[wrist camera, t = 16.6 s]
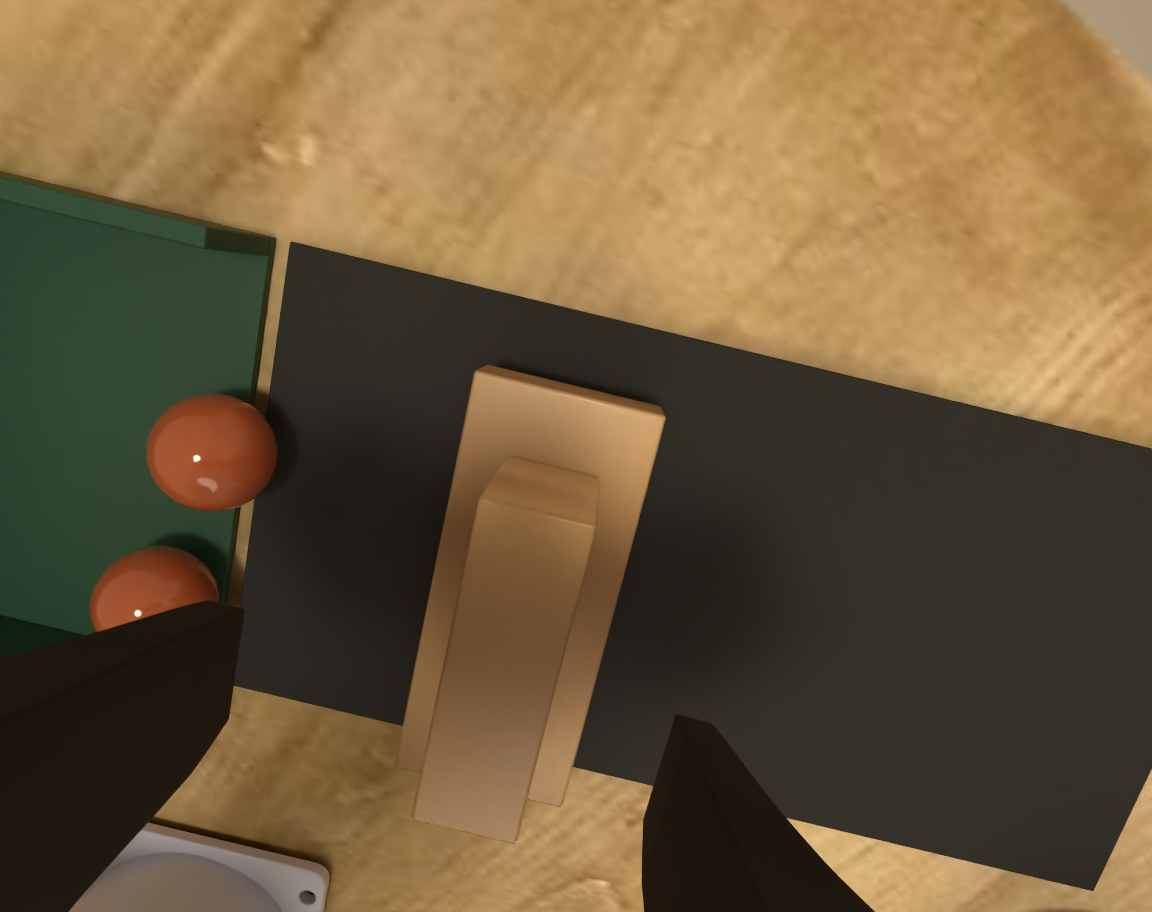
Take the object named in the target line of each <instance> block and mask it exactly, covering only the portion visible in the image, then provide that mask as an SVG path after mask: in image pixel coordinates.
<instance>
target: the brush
mask: <svg viewBox="0 0 1152 912" xmlns="http://www.w3.org/2000/svg"><path fill="white" fill-rule="evenodd" d="M665 420H666V418H665V415H664V413H663V410H662V408H661V407H660V406H657V405H653V404H649V403H645V402H641V401H636V400H632V399H628V398H624V397H620V396H616V395H612V394H607V393H603V392H599V391H595V390H591V389H587V388H582V387H578V386H574V385H570V384H566V383H562V382H558V381H553V380H549V379H545V378H541V377H537V376H533V375H528V374H524V373H520V372H516V371H512V370H508V369H503V368H499V367H495V366H491V365H485V366H484V367H482V368H480V369H478V370H476V371H475V372H474V376H473V381H472V386H471V391H470V395H469V400H468V405H467V410H466V415H465V420H464V425H463V430H462V435H461V440H460V445H459V450H458V455H457V460H456V465H455V470H454V475H453V480H452V485H451V489H450V494H449V499H448V504H447V509H446V514H445V519H444V524H443V529H442V534H441V539H440V544H439V549H438V554H437V559H436V564H435V569H434V574H433V579H432V583H431V588H430V593H429V598H428V603H427V608H426V613H425V618H424V623H423V628H422V633H421V638H420V643H419V648H418V653H417V658H416V663H415V668H414V672H413V677H412V682H411V687H410V692H409V697H408V702H407V707H406V712H405V717H404V722H403V727H402V732H401V737H400V742H399V747H398V752H397V757H396V762H395V767H396V768H399V769H403V770H407V771H411V772H415V773H419V774H420V777H419V781H418V786H417V791H416V796H415V800H414V805H413V810H412V814H411V815H412V819H413V820H416V821H420V822H424V823H429V824H433V825H437V826H441V827H445V828H449V829H454V830H458V831H462V832H466V833H470V834H475V835H479V836H483V837H487V838H491V839H495V840H500V841H504V842H508V843H515V842H516V841H517V838H518V835H519V831H520V827H521V823H522V819H523V815H524V811H525V807H526V803H527V799H528V800H532V801H537V802H541V803H545V804H549V805H553V806H557V807H561V806H562V805H563V802H564V798H565V794H566V790H567V787H568V783H569V779H570V775H571V772H572V768H573V764H574V760H575V757H576V753H577V749H578V745H579V742H580V738H581V734H582V730H583V727H584V723H585V719H586V715H587V712H588V708H589V704H590V700H591V697H592V693H593V689H594V686H595V682H596V678H597V674H598V671H599V667H600V663H601V659H602V656H603V652H604V648H605V644H606V641H607V637H608V633H609V629H610V626H611V622H612V618H613V614H614V611H615V607H616V603H617V599H618V596H619V592H620V588H621V584H622V581H623V577H624V573H625V569H626V566H627V562H628V558H629V554H630V551H631V547H632V543H633V539H634V536H635V532H636V528H637V525H638V521H639V517H640V513H641V510H642V506H643V502H644V498H645V495H646V491H647V487H648V483H649V480H650V476H651V472H652V468H653V465H654V461H655V457H656V453H657V450H658V446H659V442H660V438H661V435H662V431H663V427H664V423H665Z"/></svg>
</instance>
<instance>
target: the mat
mask: <svg viewBox="0 0 1152 912" xmlns="http://www.w3.org/2000/svg"><path fill="white" fill-rule="evenodd" d="M485 365H491V366H495V367H499V368H503V369H508V370H512V371H516V372H520V373H524V374H528V375H533V376H537V377H541V378H545V379H549V380H553V381H558V382H562V383H566V384H570V385H574V386H578V387H582V388H587V389H591V390H595V391H599V392H603V393H607V394H612V395H616V396H620V397H624V398H628V399H632V400H636V401H641V402H645V403H649V404H653V405H657V406H660V407H661V408H662V410H663V413H664V415H665V418H666V420H665V423H664V427H663V431H662V435H661V438H660V442H659V446H658V450H657V453H656V457H655V461H654V465H653V468H652V472H651V476H650V480H649V483H648V487H647V491H646V495H645V498H644V502H643V506H642V510H641V513H640V517H639V521H638V525H637V528H636V532H635V536H634V539H633V543H632V547H631V551H630V554H629V558H628V562H627V566H626V569H625V573H624V577H623V581H622V584H621V588H620V592H619V596H618V599H617V603H616V607H615V611H614V614H613V618H612V622H611V626H610V629H609V633H608V637H607V641H606V644H605V648H604V652H603V656H602V659H601V663H600V667H599V671H598V674H597V678H596V682H595V686H594V689H593V693H592V697H591V700H590V704H589V708H588V712H587V715H586V719H585V723H584V727H583V730H582V734H581V738H580V742H579V745H578V749H577V753H576V757H575V760H574V764H573V767H577V768H581V769H585V770H589V771H593V772H597V773H602V774H606V775H610V776H614V777H618V778H623V779H627V780H631V781H635V782H639V783H643V784H648V785H652V786H654V783H655V780H656V777H657V773H658V770H659V767H660V764H661V760H662V757H663V754H664V750H665V747H666V744H667V741H668V737H669V734H670V731H671V728H672V724H673V721H674V718H675V714H677V715H681V716H685V717H689V718H694V719H698V720H702V721H706V722H710V723H712V724H713V725H714V726H715V727H716V728H717V729H718V731H719V732H720V733H721V734H722V736H723V737H724V738H725V740H726V741H727V742H728V744H729V745H730V746H731V748H732V749H733V750H734V752H735V753H736V754H737V756H738V757H739V758H740V760H741V761H742V762H743V764H744V765H745V766H746V768H747V769H748V770H749V772H750V773H751V774H752V775H753V777H754V778H755V779H756V781H757V782H758V783H759V785H760V786H761V787H762V788H763V790H764V791H765V792H766V794H767V795H768V796H769V797H770V799H771V800H772V801H773V802H774V804H775V805H776V806H777V807H778V809H779V810H780V811H781V812H782V814H783V815H784V816H785V817H786V818H790V819H794V820H798V821H802V822H806V823H811V824H815V825H819V826H823V827H827V828H831V829H836V830H840V831H844V832H848V833H852V834H857V835H861V836H865V837H869V838H873V839H877V840H882V841H886V842H890V843H894V844H898V845H903V846H907V847H911V848H915V849H919V850H923V851H928V852H932V853H936V854H940V855H944V856H949V857H953V858H957V859H961V860H965V861H969V862H974V863H978V864H982V865H986V866H990V867H994V868H999V869H1003V870H1007V871H1011V872H1015V873H1020V874H1024V875H1028V876H1032V877H1036V878H1040V879H1045V880H1049V881H1053V882H1057V883H1061V884H1066V885H1070V886H1074V887H1078V888H1082V889H1086V890H1091V891H1093V890H1094V888H1095V886H1096V884H1097V882H1098V880H1099V878H1100V876H1101V874H1102V872H1103V870H1104V867H1105V865H1106V863H1107V861H1108V859H1109V857H1110V855H1111V853H1112V851H1113V849H1114V847H1115V844H1116V842H1117V840H1118V838H1119V836H1120V834H1121V832H1122V830H1123V828H1124V826H1125V824H1126V821H1127V819H1128V817H1129V815H1130V813H1131V811H1132V809H1133V807H1134V805H1135V803H1136V801H1137V798H1138V796H1139V794H1140V792H1141V790H1142V788H1143V786H1144V784H1145V782H1146V780H1147V778H1148V775H1149V773H1150V771H1151V769H1152V449H1150V448H1146V447H1142V446H1138V445H1134V444H1130V443H1126V442H1121V441H1117V440H1113V439H1109V438H1105V437H1101V436H1097V435H1092V434H1088V433H1084V432H1080V431H1076V430H1072V429H1067V428H1063V427H1059V426H1055V425H1051V424H1047V423H1043V422H1038V421H1034V420H1030V419H1026V418H1022V417H1018V416H1013V415H1009V414H1005V413H1001V412H997V411H993V410H989V409H984V408H980V407H976V406H972V405H968V404H964V403H960V402H955V401H951V400H947V399H943V398H939V397H935V396H930V395H926V394H922V393H918V392H914V391H910V390H906V389H901V388H897V387H893V386H889V385H885V384H881V383H877V382H872V381H868V380H864V379H860V378H856V377H852V376H847V375H843V374H839V373H835V372H831V371H827V370H823V369H818V368H814V367H810V366H806V365H802V364H798V363H793V362H789V361H785V360H781V359H777V358H773V357H769V356H764V355H760V354H756V353H752V352H748V351H744V350H740V349H735V348H731V347H727V346H723V345H719V344H715V343H710V342H706V341H702V340H698V339H694V338H690V337H686V336H681V335H677V334H673V333H669V332H665V331H661V330H657V329H652V328H648V327H644V326H640V325H636V324H632V323H627V322H623V321H619V320H615V319H611V318H607V317H603V316H598V315H594V314H590V313H586V312H582V311H578V310H573V309H569V308H565V307H561V306H557V305H553V304H549V303H544V302H540V301H536V300H532V299H528V298H524V297H520V296H515V295H511V294H507V293H503V292H499V291H495V290H490V289H486V288H482V287H478V286H474V285H470V284H466V283H461V282H457V281H453V280H449V279H445V278H441V277H437V276H432V275H428V274H424V273H420V272H416V271H412V270H407V269H403V268H399V267H395V266H391V265H387V264H383V263H378V262H374V261H370V260H366V259H362V258H358V257H353V256H349V255H345V254H341V253H337V252H333V251H329V250H324V249H320V248H316V247H312V246H308V245H304V244H300V243H295V242H290V248H289V255H288V263H287V270H286V277H285V284H284V292H283V299H282V306H281V313H280V321H279V328H278V335H277V342H276V350H275V357H274V364H273V371H272V379H271V386H270V393H269V400H268V408H267V415H266V419H267V420H268V422H269V423H270V425H271V427H272V429H273V431H274V433H275V436H276V439H277V445H278V461H277V466H276V469H275V472H274V474H273V477H272V479H271V480H270V482H269V483H268V485H267V486H266V488H265V489H264V490H263V491H262V492H261V493H260V494H259V495H258V496H257V497H255V502H254V509H253V516H252V524H251V531H250V538H249V545H248V553H247V560H246V567H245V574H244V582H243V589H242V596H241V603H240V608H243V609H245V612H244V619H243V626H242V632H241V639H240V646H239V653H238V659H237V666H236V673H235V680H234V686H238V687H242V688H246V689H251V690H255V691H259V692H263V693H267V694H271V695H276V696H280V697H284V698H288V699H292V700H297V701H301V702H305V703H309V704H313V705H317V706H322V707H326V708H330V709H334V710H338V711H343V712H347V713H351V714H355V715H359V716H363V717H368V718H372V719H376V720H380V721H384V722H388V723H393V724H397V725H401V726H403V722H404V717H405V712H406V707H407V702H408V697H409V692H410V687H411V682H412V677H413V672H414V668H415V663H416V658H417V653H418V648H419V643H420V638H421V633H422V628H423V623H424V618H425V613H426V608H427V603H428V598H429V593H430V588H431V583H432V579H433V574H434V569H435V564H436V559H437V554H438V549H439V544H440V539H441V534H442V529H443V524H444V519H445V514H446V509H447V504H448V499H449V494H450V489H451V485H452V480H453V475H454V470H455V465H456V460H457V455H458V450H459V445H460V440H461V435H462V430H463V425H464V420H465V415H466V410H467V405H468V400H469V395H470V391H471V386H472V381H473V376H474V372H475V371H476V370H478V369H480V368H482V367H484V366H485Z"/></svg>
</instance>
